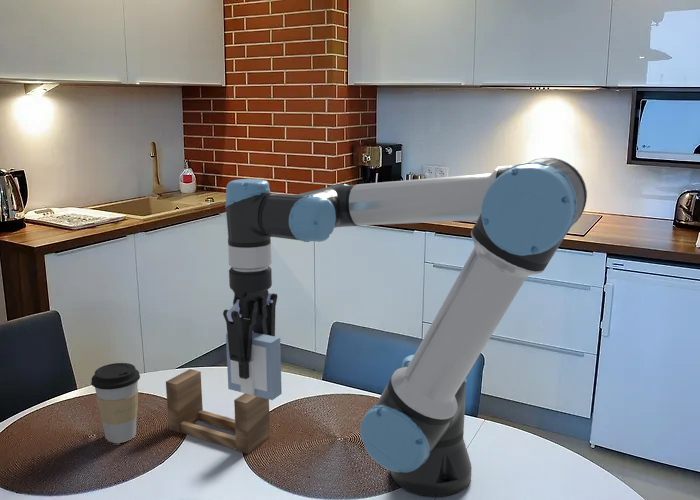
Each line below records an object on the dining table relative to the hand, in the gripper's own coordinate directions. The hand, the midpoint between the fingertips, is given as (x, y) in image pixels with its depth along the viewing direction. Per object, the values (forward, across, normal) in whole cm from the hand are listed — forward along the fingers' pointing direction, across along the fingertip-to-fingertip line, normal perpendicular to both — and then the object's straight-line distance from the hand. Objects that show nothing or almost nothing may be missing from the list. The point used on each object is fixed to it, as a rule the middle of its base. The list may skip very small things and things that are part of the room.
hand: (254, 388), depth 120 cm
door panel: (+1, 0, 0) cm, 1 cm away
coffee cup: (+17, +4, -32) cm, 36 cm away
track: (+16, -7, -15) cm, 23 cm away
